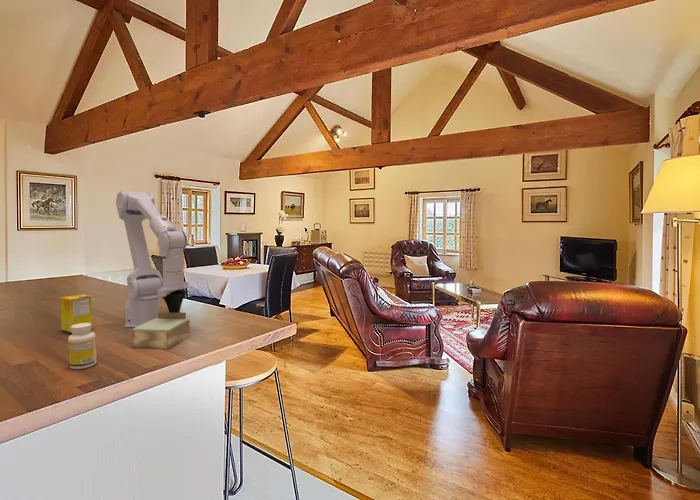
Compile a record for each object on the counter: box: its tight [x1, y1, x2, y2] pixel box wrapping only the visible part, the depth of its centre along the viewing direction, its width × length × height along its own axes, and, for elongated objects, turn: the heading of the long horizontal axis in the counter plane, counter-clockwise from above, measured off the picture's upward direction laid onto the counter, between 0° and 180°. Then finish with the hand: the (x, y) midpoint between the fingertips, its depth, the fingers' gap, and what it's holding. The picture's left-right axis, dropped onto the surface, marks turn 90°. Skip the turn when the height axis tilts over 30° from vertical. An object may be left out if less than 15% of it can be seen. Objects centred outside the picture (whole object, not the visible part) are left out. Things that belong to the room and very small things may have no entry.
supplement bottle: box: [67, 323, 98, 370], centre depth 92 cm, size 5×5×10 cm
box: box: [131, 320, 191, 350], centre depth 111 cm, size 10×12×4 cm
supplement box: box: [59, 293, 94, 335], centre depth 119 cm, size 6×6×11 cm
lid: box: [131, 311, 190, 332], centre depth 110 cm, size 10×12×2 cm
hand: (174, 315), depth 117 cm, fingers closed
